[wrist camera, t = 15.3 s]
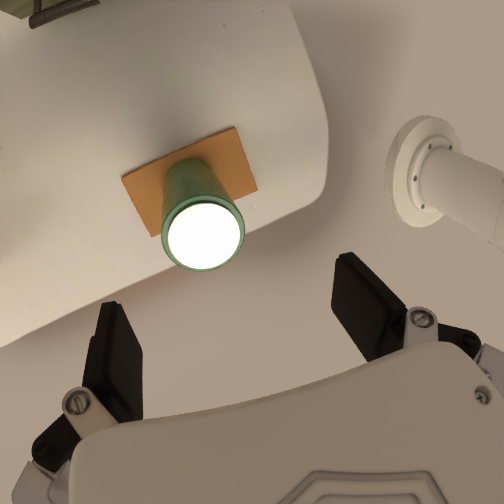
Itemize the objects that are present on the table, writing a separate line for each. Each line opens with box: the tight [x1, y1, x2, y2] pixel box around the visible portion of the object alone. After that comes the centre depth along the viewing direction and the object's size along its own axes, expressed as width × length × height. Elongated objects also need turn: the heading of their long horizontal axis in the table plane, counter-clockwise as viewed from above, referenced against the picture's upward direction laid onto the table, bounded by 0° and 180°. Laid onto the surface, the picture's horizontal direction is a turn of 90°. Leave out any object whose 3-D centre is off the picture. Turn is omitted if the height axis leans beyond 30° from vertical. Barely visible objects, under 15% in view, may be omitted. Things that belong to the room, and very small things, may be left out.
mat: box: [121, 127, 257, 237], centre depth 27 cm, size 12×7×1 cm, turn 108°
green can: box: [161, 158, 245, 271], centre depth 22 cm, size 5×5×12 cm
